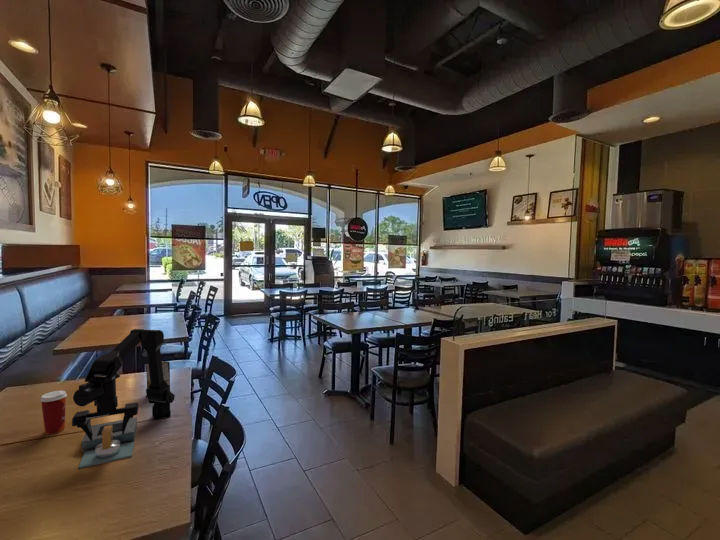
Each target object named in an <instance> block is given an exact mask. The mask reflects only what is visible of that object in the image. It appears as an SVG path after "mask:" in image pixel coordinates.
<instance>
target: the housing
mask: <svg viewBox="0 0 720 540" xmlns="http://www.w3.org/2000/svg"><path fill="white" fill-rule="evenodd" d="M110 425H113V440H119V441H120V444H125V443H130V442H134V443H135V441H136V436H137V430H138V417H133V418H130V419H129V421H128V423H127V425H126V428H125V431H124V434H123V435H122V426H123V419H120V420H114V421H110V422H109V421H107V422H105V423H104V422H103V423H98V424H91V428H92V434H93V439H92V441H90V439H89V437H88V436H87V434H86V433H85V432H84V433H85V434H84V436H83V438H82V440H81V453H82V454H84V453H85V452H86V451H91V450H95V448H96V446H97V445H99V444H100V443H102V432H103V429H104V427H105V426H110Z"/></svg>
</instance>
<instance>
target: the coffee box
mask: <svg viewBox="0 0 720 540" xmlns="http://www.w3.org/2000/svg"><path fill="white" fill-rule="evenodd" d="M170 364H171V363H170V361H166V360H162V369H163V377H164V380H165V382H166V383H167V384H168V385H169V389H170V390H171V375H170V374H171V373H170V372H171V370H170V367H171V366H170ZM145 367H146V369H145V373H146V389H147V388H148V387H149V385H150V383H151V382H150V373H149V365H148V362H147V363H146V365H145Z"/></svg>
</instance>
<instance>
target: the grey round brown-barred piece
mask: <svg viewBox="0 0 720 540" xmlns="http://www.w3.org/2000/svg"><path fill="white" fill-rule="evenodd" d="M119 452H120V441H119V440H113V425H110V426H105V427H104V429H103V432H102V443H100V444H99V445H97V446H96V448H95V453H96V458H97V459H107V458H111V457H113V456H115V455H117V454H118V453H119Z"/></svg>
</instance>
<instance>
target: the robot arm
mask: <svg viewBox="0 0 720 540" xmlns="http://www.w3.org/2000/svg"><path fill="white" fill-rule="evenodd" d="M164 334H165V333H164V331H162V330H160V329H143V328H142V329H141V328H134V329H131V330H130V332H129V334H128V335H127V336H126V337H124V339H122V340H121V341H120V342H119V343H118V344H117V345H116V346H115V347H114V348H113V349H112V350H111V351H110V352H107V353H105V354H103V355H101V356H98V358H96V359H94V361H93V362H92V363H91V366H90V368H89V370H88V373H87V374H86V377H85V378H84V383H82V384H80V385H78V389H76V390H75V392H74V394H73V396H72V398H73V399H72V400H73V402H74V404H75V405H77V406H78V407H80V408H81V407H85V406H87V405H89V404H91V403H93V405H94V407H96V411H95V412H91V411H90V409H88V410H87V409H86V410H81V411H76V413H74V415H73V417H72V419H71V426H72V427H76V428H80V429H81V430H82V431H83V432H84V433H86V434H87V436H88V437H89V439H90V441H92V439H93V434H92V428H91V426H92V419H93V420H94V419H98V418H104V417H110V416H115V415H116V416H117V415H120V414H124V415H123V418H122V420H123V426H122V435H123V434H124V431H125V428H126V425H127V423H128V421H129V419H131V418H134V416H137V415H138V413H139V403H138V402H129V403H125V405H124V407H119V408H118V406H119V404H118V396H117V385H116V381H117V379H119V378H120V377H121V375H120V374H118V372H119V370H120V369H121V367H122V366H123V361H124V360H125V358H126V357H127V356H128V355H129V354H130V353H131V352H132V351H133V350H134V349H135V348H136V347H137V345H139V343H140V344H141V346H142V349H144V350H145V351H146V355H147V356H146V357H147V363H148V365H149V373H150V382H151V383H150V385H149V387H148V388H147V387H146V389H145V395H146V397H145V398H147V401H148V404H150V405H151V404H153V405H152V406H151V408H152V411H151V412H152V413H151V414H152V415H151V417H152V418H153V420H154V421H156V420H160V419H166V418H170V417H171V412H172V411H171V404H172V403H173V402H174V401H175V397H176V395H175V394H174V393H173V392H172V391H171V388H170V389H169V385H168V384H167V383H166V382H165V380H164V377H163V369H162V361H163V360H162V353H161V352H162V351H161V348H162V347H163V345H164V342H165V340H164V339H165V338H164V337H165V335H164Z"/></svg>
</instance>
